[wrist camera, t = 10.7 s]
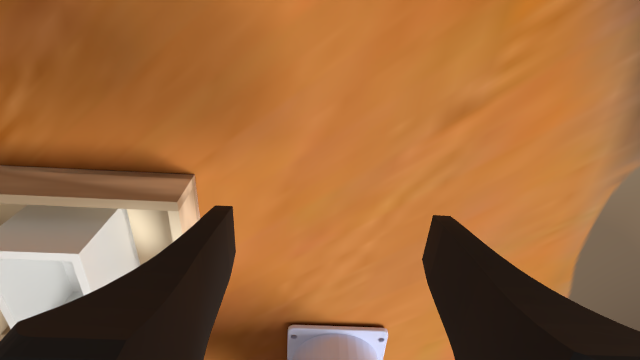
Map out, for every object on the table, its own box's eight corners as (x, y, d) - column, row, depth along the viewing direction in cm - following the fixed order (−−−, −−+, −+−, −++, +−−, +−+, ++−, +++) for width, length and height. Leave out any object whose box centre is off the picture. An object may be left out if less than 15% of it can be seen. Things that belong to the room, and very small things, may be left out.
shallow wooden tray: (211, 310, 28) (199, 346, 26) (27, 303, 28) (-6, 340, 25) (194, 174, 23) (177, 202, 20) (-38, 163, 22) (-90, 190, 19)
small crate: (147, 293, 27) (113, 355, 22) (72, 291, 26) (23, 353, 22) (124, 201, 23) (78, 254, 18) (36, 197, 23) (-31, 250, 18)
